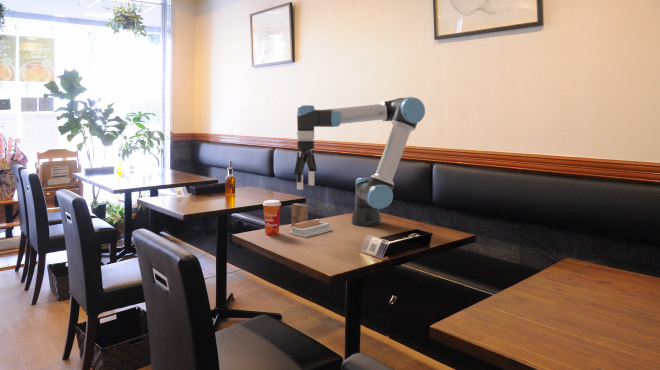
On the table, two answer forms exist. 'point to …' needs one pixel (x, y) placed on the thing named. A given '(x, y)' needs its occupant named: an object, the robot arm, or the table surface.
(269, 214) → the coffee cup
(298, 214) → the brown rectangular block
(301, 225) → the white rectangular tray
